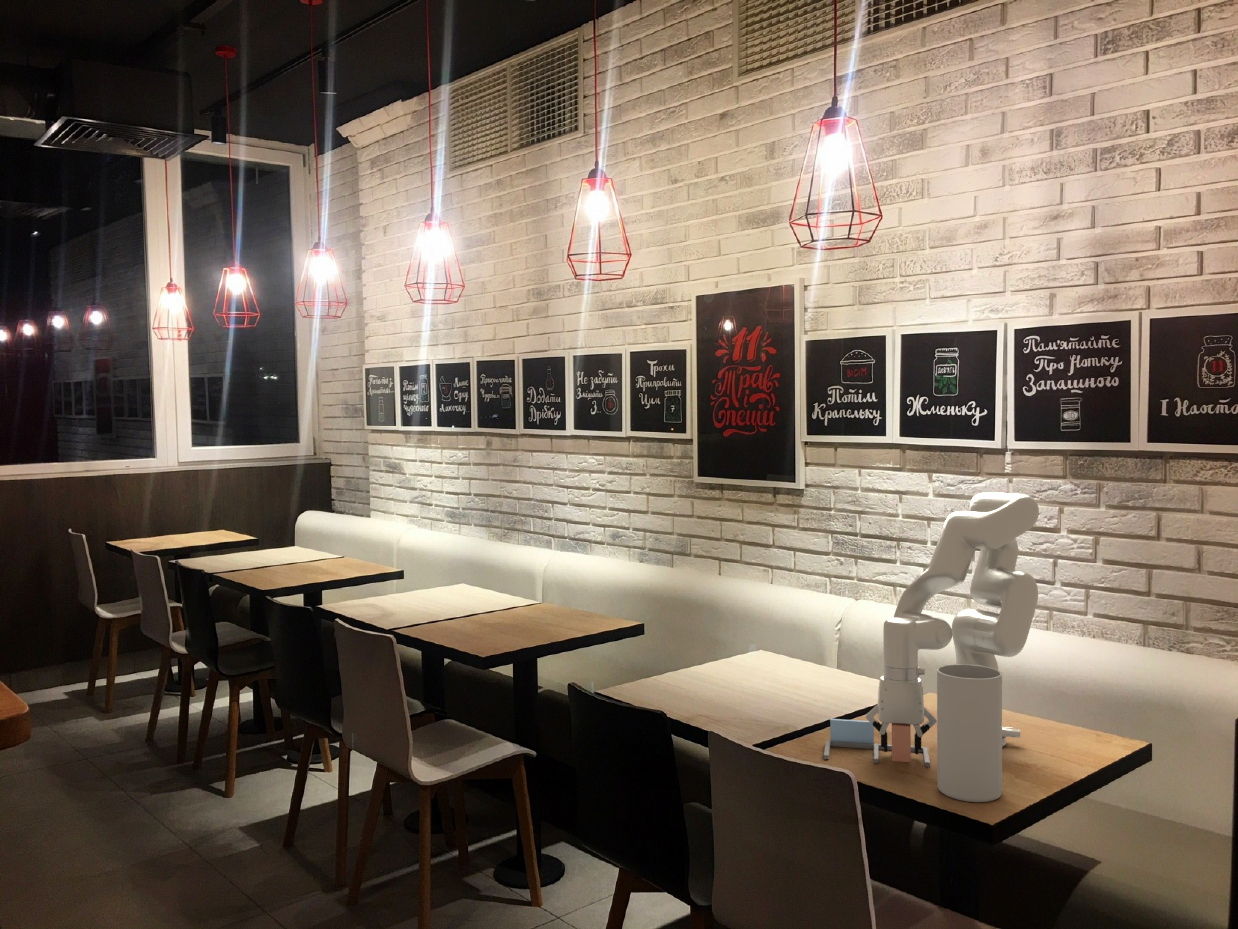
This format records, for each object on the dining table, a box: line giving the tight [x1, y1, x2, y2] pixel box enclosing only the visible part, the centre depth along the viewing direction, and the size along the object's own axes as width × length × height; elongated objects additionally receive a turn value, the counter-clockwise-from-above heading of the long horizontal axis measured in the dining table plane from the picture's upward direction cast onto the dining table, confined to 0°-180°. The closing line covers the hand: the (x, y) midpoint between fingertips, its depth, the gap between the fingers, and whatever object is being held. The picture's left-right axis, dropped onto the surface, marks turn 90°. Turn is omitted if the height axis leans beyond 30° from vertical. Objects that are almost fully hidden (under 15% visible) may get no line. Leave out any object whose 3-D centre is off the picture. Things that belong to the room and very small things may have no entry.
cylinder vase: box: [936, 663, 1003, 803], centre depth 199 cm, size 12×12×25 cm
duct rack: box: [823, 718, 931, 768], centre depth 223 cm, size 23×12×6 cm, turn 75°
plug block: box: [891, 723, 912, 763], centre depth 221 cm, size 4×5×8 cm
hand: (901, 750), depth 221 cm, fingers open, 6 cm apart
